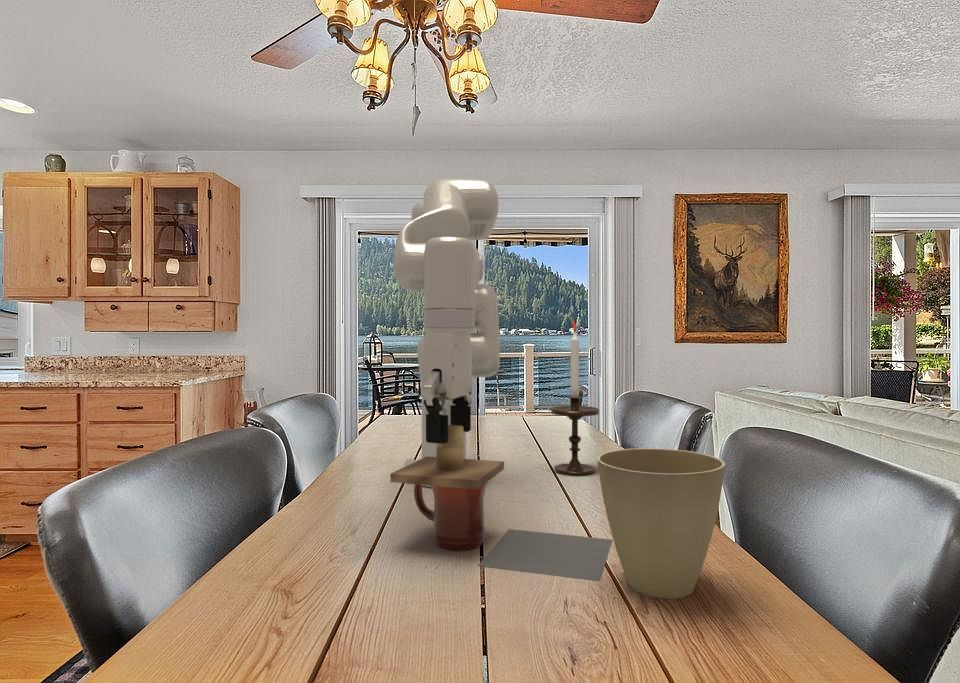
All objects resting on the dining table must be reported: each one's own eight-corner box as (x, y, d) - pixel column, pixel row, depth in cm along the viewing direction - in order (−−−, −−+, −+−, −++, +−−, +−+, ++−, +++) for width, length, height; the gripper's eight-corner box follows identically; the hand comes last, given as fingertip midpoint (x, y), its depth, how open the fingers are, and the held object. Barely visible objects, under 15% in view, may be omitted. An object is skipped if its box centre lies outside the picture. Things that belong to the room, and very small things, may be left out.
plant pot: (629, 557, 84) (629, 443, 84) (740, 585, 75) (741, 457, 75) (574, 592, 73) (574, 460, 72) (698, 631, 63) (698, 479, 63)
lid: (390, 482, 85) (390, 431, 85) (426, 463, 98) (426, 419, 98) (477, 489, 81) (477, 436, 81) (504, 469, 94) (504, 422, 94)
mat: (477, 569, 80) (477, 565, 80) (509, 532, 95) (509, 529, 95) (599, 584, 75) (599, 580, 75) (612, 543, 90) (612, 539, 90)
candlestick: (542, 468, 140) (542, 318, 140) (581, 464, 145) (581, 319, 145) (567, 478, 131) (568, 317, 130) (608, 474, 135) (609, 318, 135)
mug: (498, 541, 91) (498, 473, 91) (470, 561, 83) (470, 486, 83) (431, 529, 96) (431, 465, 96) (399, 546, 88) (399, 477, 88)
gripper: (446, 322, 99) (446, 426, 99) (401, 321, 82) (401, 446, 83) (490, 322, 96) (490, 428, 97) (452, 321, 80) (452, 449, 81)
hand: (449, 436), depth 90 cm, fingers open, 9 cm apart
